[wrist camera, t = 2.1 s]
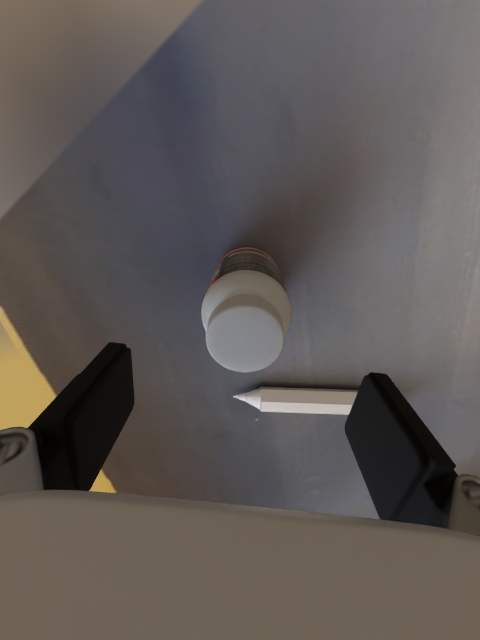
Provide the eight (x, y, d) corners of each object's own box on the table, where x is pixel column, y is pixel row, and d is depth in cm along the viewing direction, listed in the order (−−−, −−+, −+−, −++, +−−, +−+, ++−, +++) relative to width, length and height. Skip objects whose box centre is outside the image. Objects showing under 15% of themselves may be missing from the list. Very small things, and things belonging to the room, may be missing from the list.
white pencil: (232, 384, 28) (389, 389, 27) (232, 404, 28) (389, 411, 27) (231, 389, 25) (404, 395, 25) (230, 412, 25) (404, 419, 25)
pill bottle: (208, 251, 21) (180, 297, 12) (276, 241, 21) (298, 282, 12) (220, 313, 23) (203, 388, 15) (282, 305, 23) (303, 379, 14)
